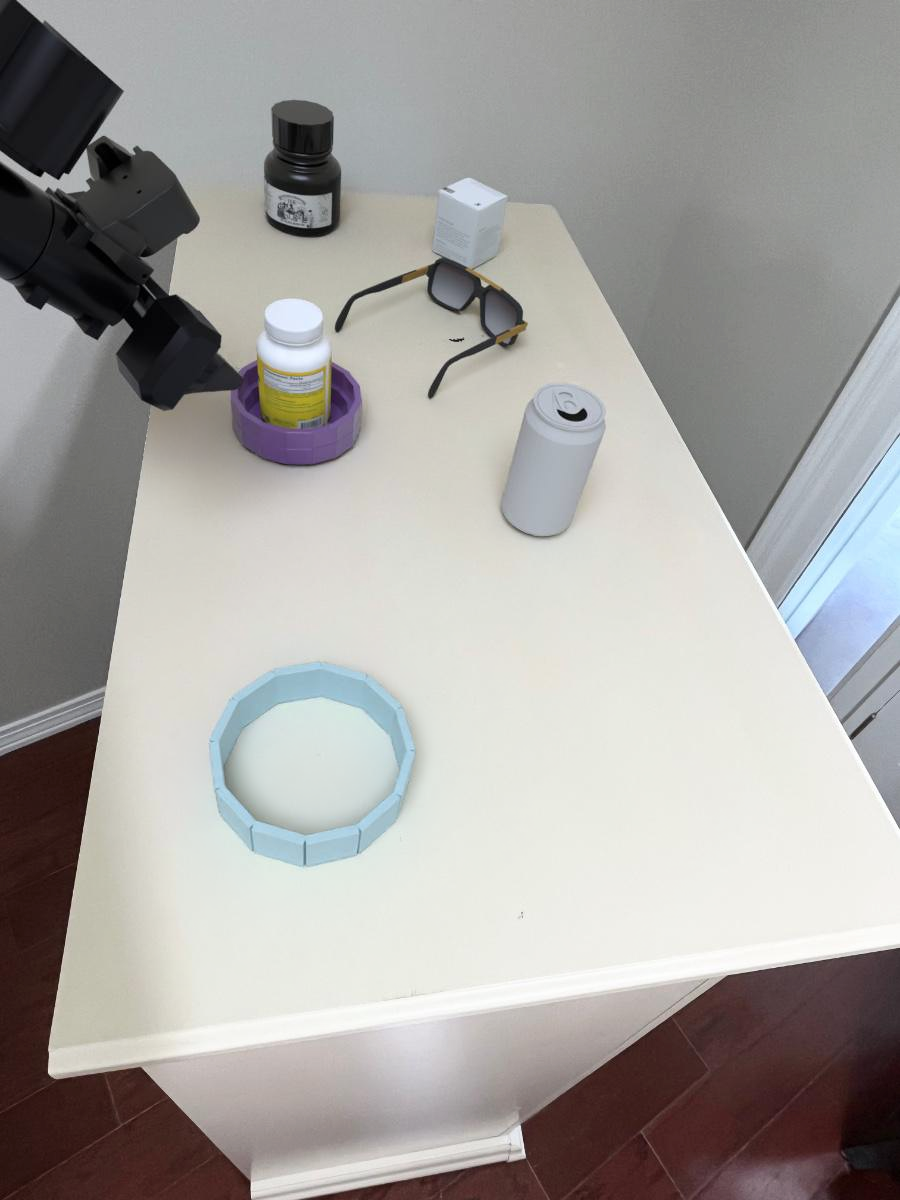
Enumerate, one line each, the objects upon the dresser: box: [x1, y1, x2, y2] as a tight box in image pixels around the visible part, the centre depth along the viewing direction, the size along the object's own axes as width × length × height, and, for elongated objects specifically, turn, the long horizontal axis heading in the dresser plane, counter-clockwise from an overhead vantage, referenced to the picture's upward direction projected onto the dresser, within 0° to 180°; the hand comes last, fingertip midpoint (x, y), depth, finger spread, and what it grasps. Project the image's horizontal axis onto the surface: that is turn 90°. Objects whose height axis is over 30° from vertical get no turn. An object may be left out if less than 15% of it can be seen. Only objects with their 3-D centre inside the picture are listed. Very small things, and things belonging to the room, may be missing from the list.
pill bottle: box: [256, 297, 333, 429], centre depth 68 cm, size 6×6×11 cm
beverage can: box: [500, 382, 607, 537], centre depth 65 cm, size 6×6×12 cm
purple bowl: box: [230, 359, 363, 466], centre depth 71 cm, size 11×11×4 cm
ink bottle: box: [263, 99, 342, 237], centre depth 92 cm, size 10×9×12 cm
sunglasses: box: [334, 257, 529, 399], centre depth 82 cm, size 14×15×5 cm
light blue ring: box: [208, 661, 416, 868], centre depth 50 cm, size 12×12×4 cm
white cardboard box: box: [431, 177, 509, 270], centre depth 94 cm, size 6×6×7 cm
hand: (210, 349), depth 60 cm, fingers open, 9 cm apart
